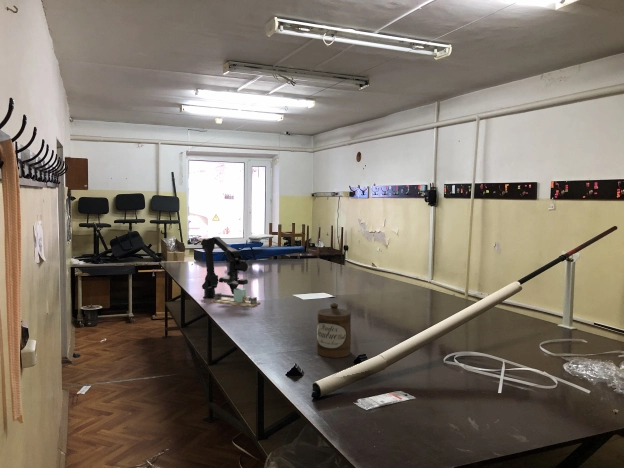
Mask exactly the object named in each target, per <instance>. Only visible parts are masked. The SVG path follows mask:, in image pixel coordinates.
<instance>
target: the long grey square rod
mask: <svg viewBox="0 0 624 468" xmlns="http://www.w3.org/2000/svg"><path fill="white" fill-rule="evenodd" d="M218 296H219V297H225V298H233V299H234V295H233V294H231V295H230V294H223V293H221V294H218ZM251 298H252V296H249V295H248V296H247V295H246V297H243V300H246V301H250V299H251ZM254 301H255V300H254Z"/></svg>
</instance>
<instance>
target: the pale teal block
mask: <svg viewBox="0 0 624 468" xmlns="http://www.w3.org/2000/svg"><path fill="white" fill-rule="evenodd" d="M233 296H234V298H233V299H234V301H236V302H243V301H246V300H243V297H247V288H241V287H237V288H236V289H234V294H233Z"/></svg>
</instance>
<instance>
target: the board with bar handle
mask: <svg viewBox="0 0 624 468" xmlns="http://www.w3.org/2000/svg"><path fill="white" fill-rule="evenodd" d="M218 294H222V292H216V293H215V297H214V298H212V299H210V302H211V303H218V304H225V305H231V306H238V307H239V306H241V307H247V308H252V307H254V306H255V307H256V306H257V305H260V304H261V301H257V300H258V298H257V297H256V296H253V297H251V299H250V301H243V302H236V301H234V298H227V297H219V296H218ZM254 300H255V301H254Z"/></svg>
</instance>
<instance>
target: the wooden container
mask: <svg viewBox="0 0 624 468" xmlns="http://www.w3.org/2000/svg"><path fill="white" fill-rule="evenodd" d="M338 307H339V304H338V303H337V302H336V303H335V302H332V303H331V304H330V307H329V308H324V309H323V308H322V309H319V310H318V311H317V327H316V328H317V330H316V353H317V354H318V355H319V356H322V357H325V358H330V359H331V358H332V359H333V358H335V359H337V358H338V359H339V358H343V357H348V356H349V355H350V354H351V340H352V339H351V338H352V334H351V333H352V331H351V327H352V325H351V322H352V321H351V319H352V318H351V317H352V315H351V311H349V310H347V309H345V308H338Z"/></svg>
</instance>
